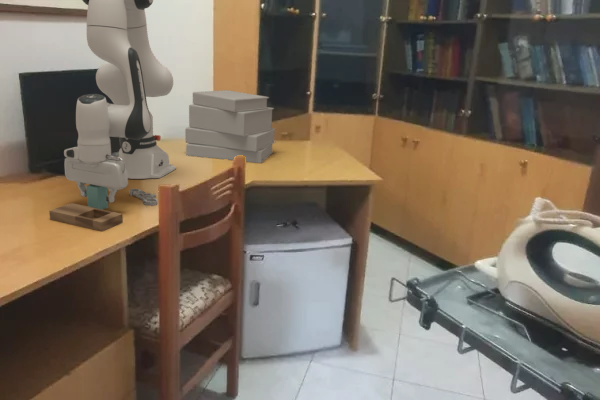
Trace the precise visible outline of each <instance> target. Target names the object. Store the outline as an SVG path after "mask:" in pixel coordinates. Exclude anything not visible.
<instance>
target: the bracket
mask: <svg viewBox="0 0 600 400" xmlns="http://www.w3.org/2000/svg"><path fill="white" fill-rule="evenodd" d="M128 192H129V195H130V196H131V197H132V196H133V197H136V198H138V199H139V200H141V201H142V204H143V205H146V206H149V207H153V206H156V205H158V199H157V198H156V196H157V194H155V193H149V192H146V191H144V190H143V189H140V188H131V189H129V190H128Z"/></svg>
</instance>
